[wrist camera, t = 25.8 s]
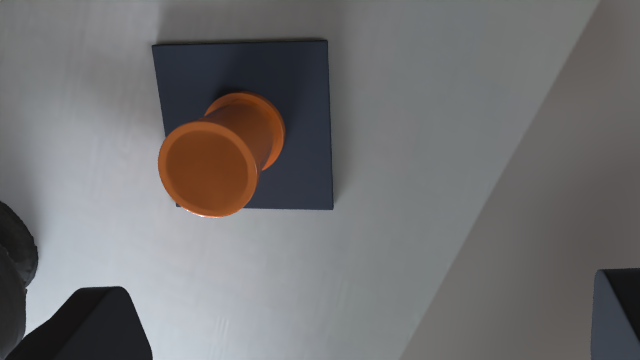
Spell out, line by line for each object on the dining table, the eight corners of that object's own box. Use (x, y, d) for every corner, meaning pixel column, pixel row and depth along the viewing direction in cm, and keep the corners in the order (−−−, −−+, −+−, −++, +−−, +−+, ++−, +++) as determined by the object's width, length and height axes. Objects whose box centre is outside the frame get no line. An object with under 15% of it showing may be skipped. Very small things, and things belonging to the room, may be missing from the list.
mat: (327, 39, 35) (326, 41, 34) (333, 207, 39) (332, 210, 38) (154, 44, 36) (151, 45, 36) (178, 204, 41) (176, 207, 40)
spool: (255, 74, 36) (217, 101, 28) (301, 146, 37) (276, 189, 30) (189, 116, 37) (137, 153, 30) (236, 183, 39) (197, 233, 31)
